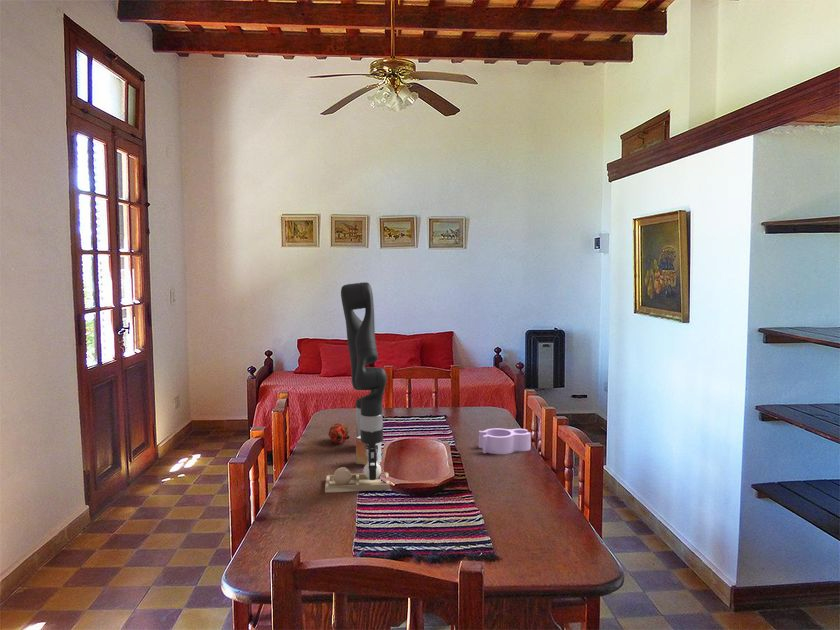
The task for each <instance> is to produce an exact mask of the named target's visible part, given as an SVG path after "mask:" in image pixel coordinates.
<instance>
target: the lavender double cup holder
mask: <svg viewBox="0 0 840 630" xmlns="http://www.w3.org/2000/svg"><path fill="white" fill-rule="evenodd" d="M531 435H532V434H531V432H530V431H529V430H528V429H525V428H513V429H512V428H511V429H509V428H508V429H507V428H500V427H499V428H498V427H497V428H496V427H495V428H487V429H485V430H478V448H479V449H482V454H487V453H488V454H491V455H492V454H493V455H508V454H512V453H514V452H527V451H528V452H529V451H531V443H532V440H531V438H532V437H531Z"/></svg>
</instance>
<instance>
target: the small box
mask: <svg viewBox="0 0 840 630" xmlns="http://www.w3.org/2000/svg"><path fill="white" fill-rule="evenodd" d="M376 445H378V453H377V457H378V460H377V463H378V464H379V465H380V464H381V463H382V442H380V443H377V444H376ZM366 446H368V444H367V443H366V444H365V443H363V442H361V436H359V437H357V436H356V437H355V464H356V465H363V466H365V465H366V464H367V463H368V462H367V453H366ZM380 462H381V463H380Z"/></svg>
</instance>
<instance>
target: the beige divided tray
mask: <svg viewBox="0 0 840 630" xmlns="http://www.w3.org/2000/svg"><path fill="white" fill-rule="evenodd" d="M381 474H385V476H386V478H387V477H389V471H388V472H387V471H385V472H383V471H381ZM381 474H380V475H381ZM351 475H352V477H351V481H350V482H349V483H348V484H347V485H342V486H340V485H338V484H336V483H335V481H334V474H327V475H326V479H325V487H324V492H325V494H327V493H344V492H345V493H346V492H348V493H349V492H367V491H386V490H387V491H388V490H391V485H390V480H389V481H387V480H386V483H384V482H383V481H381V480H380V476H379V477H378V478H377V479H376V480H370V479H368V478H366V476H365V475H364V472H363V473H362V472H361V473H351ZM389 478H390V477H389Z"/></svg>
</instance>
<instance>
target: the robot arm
mask: <svg viewBox="0 0 840 630" xmlns="http://www.w3.org/2000/svg"><path fill="white" fill-rule="evenodd" d="M340 297H341V298H340V299H341V304H342V311H343V315H344V319H345V326H346V329H345V330H346V339H347V346H348V353H349V358H350V370H351V371H350V374H351V375H350V376H351V384H352V385H351V386H352V388H353V389H354V390H356V391H369V393H368V394H367V395H364V396H362V397H359V398H357V399H356V401H355V420H356V424H355V426H356V427H355V428H356V429H355V430H356V438H357V437H359V436H361V442H363V443H365V444H366V443H367V444H368V446H366V453H367V462H369V467H368V468H369V479H370V480H376V468H377V466H376V462H377V460H378V457H377V453H378V445H376V444H377V443H380V442H381V443H382V442H383V440H384V420H383V396H384V393H385V390H386V389H385V388H386V384H387V381H388V376H387V372H386V370H385V369H384V368H383V367H375V366H368V365H371V364H374V363H376V362H377V361H378V359H379V358H378V357H379V356H378V355H379V353H378V347H377V341H376V332H375V331H376V330H375V329H376V328H375V308H374V307H375V306H374V295H373V290H372V286H371V284H370V283H369V282H357V283H348V284H344V285H342V286H341V288H340ZM361 309H365V311H364V312H365V313H364V317H363V320H362V319H360V317H358V316H357V314H356V313H355V311H356V310H361ZM354 310H355V311H354ZM366 366H367V367H366ZM370 463H375V465H370Z"/></svg>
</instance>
